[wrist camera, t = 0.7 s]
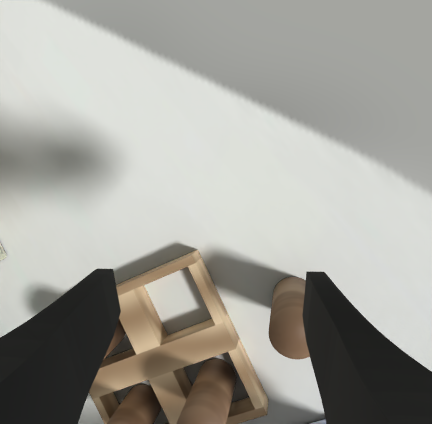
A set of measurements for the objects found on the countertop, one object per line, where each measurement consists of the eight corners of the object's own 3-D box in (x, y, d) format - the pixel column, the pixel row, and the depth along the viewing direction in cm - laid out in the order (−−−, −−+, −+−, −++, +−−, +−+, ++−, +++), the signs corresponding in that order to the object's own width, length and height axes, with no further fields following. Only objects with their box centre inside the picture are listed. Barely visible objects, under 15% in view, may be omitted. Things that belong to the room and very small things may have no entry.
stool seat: (268, 399, 32) (262, 462, 25) (130, 442, 36) (93, 507, 29) (197, 249, 32) (172, 272, 25) (64, 307, 35) (11, 341, 28)
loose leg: (321, 307, 30) (331, 349, 23) (283, 321, 31) (281, 365, 24) (304, 270, 30) (309, 301, 23) (266, 285, 31) (260, 319, 24)
